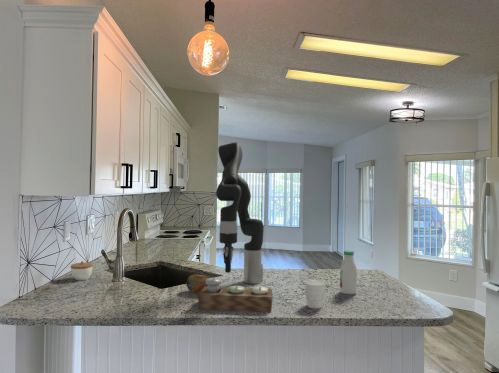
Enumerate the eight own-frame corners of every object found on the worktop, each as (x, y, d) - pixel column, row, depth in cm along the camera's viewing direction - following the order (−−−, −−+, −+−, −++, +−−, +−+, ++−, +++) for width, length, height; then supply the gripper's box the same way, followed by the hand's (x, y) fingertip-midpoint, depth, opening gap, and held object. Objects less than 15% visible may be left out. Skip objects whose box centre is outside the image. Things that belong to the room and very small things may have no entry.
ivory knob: (268, 298, 157) (268, 286, 157) (267, 303, 151) (267, 290, 151) (252, 298, 158) (252, 285, 158) (251, 303, 151) (251, 290, 151)
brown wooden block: (272, 302, 160) (272, 288, 160) (271, 311, 148) (271, 297, 148) (204, 299, 163) (204, 286, 163) (198, 308, 151) (198, 294, 151)
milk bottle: (359, 292, 176) (359, 251, 176) (351, 296, 170) (352, 253, 170) (344, 289, 181) (345, 249, 181) (336, 292, 176) (337, 251, 176)
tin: (185, 291, 175) (186, 273, 175) (189, 289, 178) (190, 272, 178) (212, 296, 168) (212, 277, 168) (216, 294, 171) (216, 276, 171)
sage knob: (244, 298, 158) (245, 285, 158) (243, 302, 152) (243, 290, 152) (229, 297, 159) (229, 285, 159) (227, 302, 152) (227, 289, 152)
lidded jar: (87, 281, 190) (87, 263, 190) (66, 281, 191) (66, 263, 191) (96, 276, 201) (96, 259, 201) (76, 276, 201) (76, 259, 201)
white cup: (320, 310, 150) (320, 286, 150) (302, 307, 154) (302, 283, 154) (327, 305, 157) (327, 282, 157) (309, 302, 161) (310, 279, 161)
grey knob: (222, 290, 159) (222, 277, 159) (219, 294, 153) (219, 281, 153) (207, 289, 160) (207, 277, 160) (203, 293, 153) (204, 281, 153)
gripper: (221, 229, 162) (221, 268, 162) (217, 233, 149) (216, 275, 149) (238, 229, 162) (238, 269, 162) (235, 233, 148) (235, 276, 148)
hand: (228, 272), depth 155 cm, fingers closed
